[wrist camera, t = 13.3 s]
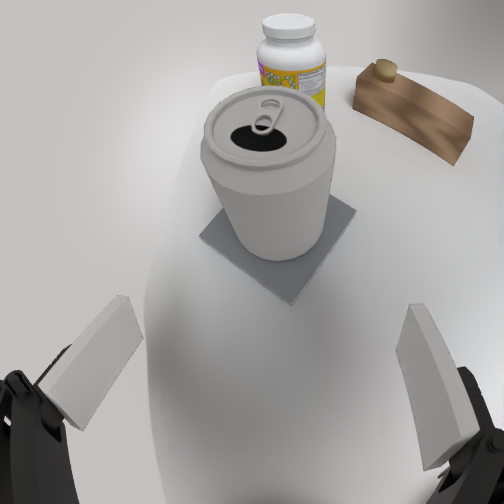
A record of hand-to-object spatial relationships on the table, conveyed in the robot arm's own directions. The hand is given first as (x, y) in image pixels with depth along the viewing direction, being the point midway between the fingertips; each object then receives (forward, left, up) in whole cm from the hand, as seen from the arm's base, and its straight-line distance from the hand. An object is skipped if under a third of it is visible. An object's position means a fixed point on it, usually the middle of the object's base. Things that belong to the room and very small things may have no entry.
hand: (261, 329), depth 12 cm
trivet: (+6, -8, -10) cm, 14 cm away
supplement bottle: (+12, -21, -10) cm, 26 cm away
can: (+6, -8, -9) cm, 13 cm away
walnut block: (+1, -29, -10) cm, 31 cm away
